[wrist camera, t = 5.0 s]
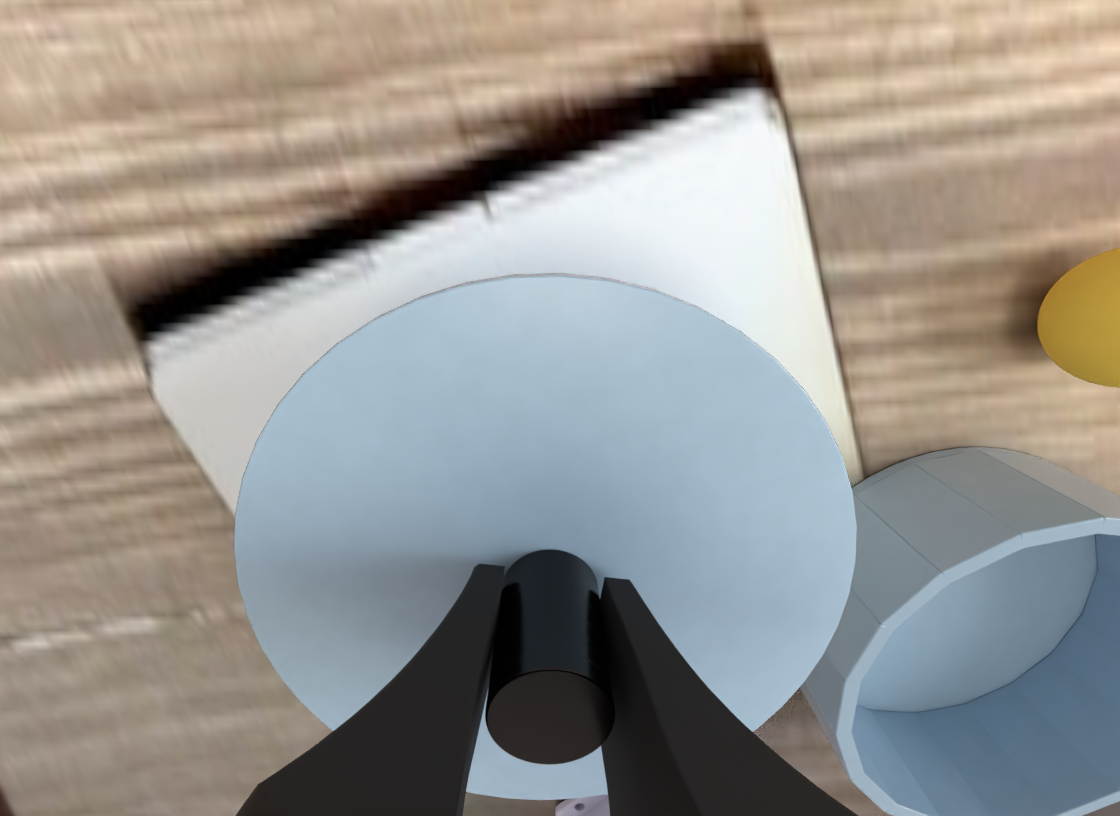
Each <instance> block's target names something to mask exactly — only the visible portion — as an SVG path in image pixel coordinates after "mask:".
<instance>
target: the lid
mask: <svg viewBox="0 0 1120 816" xmlns="http://www.w3.org/2000/svg"><path fill="white" fill-rule="evenodd" d="M856 533H857V525H856V517H855V509H854V500H853V492H852V488H851V485H850V481H849V478H848V474H847V471H846V467H845V464H844V460H843V457H842V454H841V452H840V450H839V448H838V446H837V444H836V442H835V439H834V437H833V435H832V433H831V431H830V429H829V427H828V425H827V422H826V421H825V419H824V418H823V416H822V415H821V413H820V412H819V410H818V409H817V408H816V406H815V405H814V403H813V402H812V400H811V399H810V397H809V396H808V394H807V393H806V391H805V390H804V389H803V388H802V386H801V385H800V384H799V383H798V382H797V381H796V380H795V379H794V378H793V377H792V376H791V375H790V374H789V373H788V372H787V370H786V369H785V368H784V367H783V366H782V365H781V364H780V363H779V362H778V361H777V360H776V359H775V358H774V357H773V356H771V355H770V354H769V353H768V352H766V351H765V350H764V349H763V348H761V347H760V346H759V345H757V344H756V343H755V342H754V341H752V340H751V339H750V338H749V337H747V336H746V335H745V334H743V333H742V332H741V331H739V330H737V329H736V328H734V327H732V326H730V325H729V324H727V323H725V322H723V321H722V320H720V319H718V318H716V317H715V316H713V315H711V314H709V313H708V312H706V311H704V310H703V309H701V308H699V307H697V306H695V305H692V304H690V303H687V302H685V301H682V300H680V299H677V298H675V297H672V296H670V295H667V294H665V293H662V292H660V291H657V290H655V289H651V288H647V287H643V286H639V285H635V284H631V283H627V282H623V281H619V280H615V279H610V278H603V277H594V276H584V275H575V274H565V273H547V274H513V275H507V276H501V277H495V278H489V279H483V280H477V281H471V282H466V283H463V284H459V285H456V286H453V287H450V288H446V289H443V290H440V291H437V292H433V293H430V294H427V295H424V296H421V297H419V298H417V299H415V300H412V301H410V302H408V303H406V304H404V305H402V306H400V307H397V308H395V309H393V310H391V311H389V312H387V313H385V314H383V315H380V316H379V317H377V318H375V319H374V320H372V321H370V322H369V323H367V324H366V325H364V326H363V327H361V328H360V329H358V330H357V331H355V332H354V333H352V334H351V335H349V336H348V337H346V338H345V339H343V340H342V341H340V342H339V343H337V344H336V345H335V346H334V347H332V348H331V349H330V350H329V351H328V352H327V353H326V354H325V355H323V356H322V357H321V358H320V359H319V360H318V361H317V362H316V363H315V364H313V365H312V366H311V367H310V368H309V369H308V370H307V371H306V372H305V373H303V375H302V376H301V377H300V378H299V380H298V381H297V382H296V383H295V384H294V386H293V387H292V388H291V389H290V391H289V392H288V393H287V394H286V395H285V397H284V398H283V399H282V400H281V401H280V403H279V404H278V405H277V407H276V408H275V410H274V412H273V413H272V415H271V417H270V419H269V420H268V422H267V424H266V425H265V427H264V429H263V431H262V432H261V434H260V436H259V437H258V439H257V441H256V444H255V446H254V449H253V451H252V454H251V457H250V459H249V462H248V465H247V467H246V470H245V472H244V475H243V479H242V483H241V488H240V493H239V498H238V503H237V508H236V513H235V534H234V554H235V562H236V571H237V579H238V585H239V589H240V592H241V596H242V599H243V603H244V607H245V610H246V614H247V617H248V619H249V621H250V624H251V626H252V628H253V630H254V633H255V635H256V637H257V639H258V642H259V644H260V646H261V648H262V650H263V651H264V653H265V654H266V656H267V658H268V659H269V661H270V662H271V664H272V666H273V667H274V669H275V670H276V672H277V674H278V675H279V676H280V678H281V679H282V680H283V681H284V683H285V684H286V685H287V686H288V687H289V689H290V690H291V691H292V692H293V693H294V695H295V696H296V697H297V698H298V699H299V701H300V702H301V703H302V704H303V705H304V706H305V707H307V708H308V709H309V710H310V711H311V712H312V713H313V714H314V715H315V716H316V717H317V718H318V719H319V720H320V721H321V722H322V723H324V724H325V725H326V726H327V727H329V728H330V729H331V730H333V731H334V730H335V729H337V728H338V727H339V726H340V725H342V724H343V723H344V722H345V721H347V720H348V719H349V718H350V717H352V716H353V715H354V714H355V713H356V712H358V711H359V710H360V709H361V708H362V707H363V706H364V705H365V704H367V703H368V702H369V701H370V700H371V699H372V698H373V697H374V696H375V695H376V694H377V693H378V692H379V691H380V690H382V689H383V688H384V687H385V686H386V685H387V684H388V683H389V682H390V681H391V680H392V679H393V678H394V677H395V676H396V675H397V674H398V673H399V672H400V671H401V670H402V669H403V667H404V666H405V665H406V664H407V663H408V662H409V661H410V660H411V659H412V658H413V656H414V655H415V654H416V653H417V652H418V651H419V650H420V648H421V647H422V646H423V645H424V643H425V642H426V641H427V640H428V638H429V637H430V636H431V635H432V633H433V632H434V631H435V630H436V628H437V627H438V626H439V625H440V623H441V622H442V621H443V619H444V618H445V616H446V615H447V613H448V612H449V611H450V609H451V608H452V606H453V605H454V603H455V602H456V600H457V599H458V597H459V596H460V594H461V592H462V591H463V589H464V587H465V586H466V584H467V582H468V580H469V578H470V576H471V574H472V572H473V569H474V567H475V566H477V565H478V564H488V565H498V566H505V570H504V578H503V587H502V594H501V602H500V610H499V617H498V624H497V628H496V634H495V639H494V647H493V655H492V663H491V671H490V679H489V687H488V691H487V696H486V700H485V705H484V709H483V714H482V718H481V723H480V727H479V732H478V736H477V741H476V745H475V750H474V754H473V759H472V763H471V768H470V772H469V777H468V783H467V788H466V792H470V793H474V794H480V795H487V796H494V797H501V798H510V799H530V800H555V799H576V798H583V797H591V796H599V795H606V794H608V790H607V782H606V776H605V769H604V763H603V756H602V749H601V745H602V744H603V743H604V742H605V740H606V739H607V738H608V736H609V735H610V733H611V731H612V728H613V725H614V721H615V706H614V699H613V691H612V684H611V677H610V670H609V662H608V655H607V648H606V641H605V633H604V626H603V619H602V612H601V604H600V597H601V592H602V587H603V582H604V577H610V578H619V579H629V580H630V581H631V582H632V584H633V585H634V587H635V588H636V590H637V591H638V593H639V594H640V596H641V598H642V599H643V601H644V602H645V604H646V605H647V607H648V608H649V610H650V611H651V613H652V614H653V616H654V617H655V619H656V620H657V622H658V623H659V625H660V626H661V628H662V629H663V630H664V632H665V633H666V635H667V636H668V637H669V639H670V640H671V641H672V643H673V644H674V646H675V647H676V648H677V650H678V651H679V652H680V654H681V655H682V656H683V657H684V659H685V660H686V661H687V663H688V664H689V665H690V666H691V668H692V669H693V670H694V671H695V672H696V674H697V675H698V676H699V677H700V679H701V680H702V681H703V682H704V683H705V684H706V685H707V686H708V688H709V689H710V690H711V691H712V692H713V693H714V694H715V695H716V696H717V697H718V698H719V699H720V700H721V701H722V703H723V704H724V705H725V706H726V707H727V708H728V709H729V710H730V711H731V712H732V713H733V714H734V715H735V716H736V717H737V718H738V719H739V720H740V721H741V722H742V723H743V724H744V725H745V726H746V727H747V728H749V729H750V730H751V731H752V732H753V731H754V730H756V729H757V728H758V727H760V726H761V725H762V724H763V723H764V722H765V721H766V720H767V719H769V718H770V717H771V716H772V715H773V714H774V713H775V712H777V711H778V710H779V709H780V708H781V707H782V706H783V705H784V704H785V703H786V702H787V701H788V699H789V698H790V697H791V696H792V695H793V694H794V693H795V692H796V690H797V689H798V688H799V687H800V686H801V685H802V684H803V683H804V681H805V680H806V679H807V677H808V676H809V674H810V673H811V671H812V670H813V668H814V667H815V666H816V664H817V663H818V661H819V660H820V658H821V657H822V656H823V654H824V652H825V650H826V648H827V646H828V644H829V642H830V640H831V638H832V636H833V634H834V632H835V630H836V629H837V627H838V624H839V621H840V618H841V616H842V613H843V610H844V607H845V604H846V601H847V599H848V596H849V592H850V586H851V581H852V576H853V571H854V566H855V558H856Z"/></svg>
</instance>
